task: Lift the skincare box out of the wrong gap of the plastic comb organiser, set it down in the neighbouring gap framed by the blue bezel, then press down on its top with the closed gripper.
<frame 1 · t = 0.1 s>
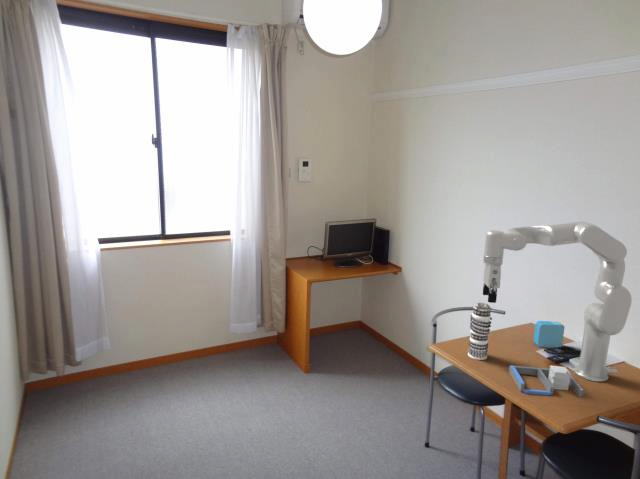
hand: (489, 298, 190), 31 cm above the table, tool pointing down, fingers open, 9 cm apart
comb organiser: (544, 384, 181), on the table
skincare box: (557, 386, 181), resting in comb organiser
data package: (547, 346, 219), on the table
white patterned tower: (477, 356, 206), on the table
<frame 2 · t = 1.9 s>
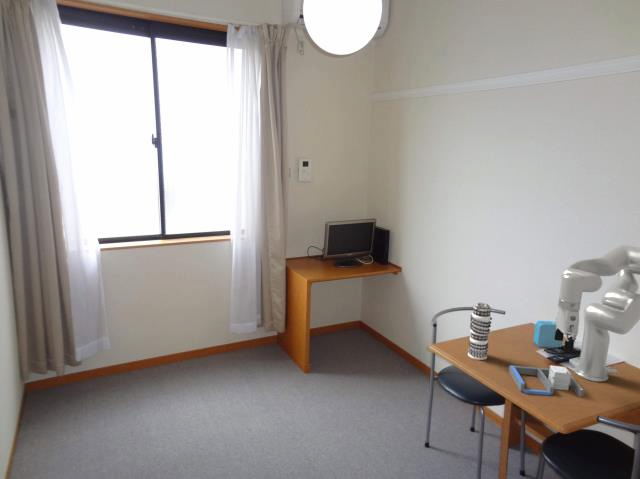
hand: (563, 345, 177), 18 cm above the table, tool pointing down, fingers open, 9 cm apart
nothing on the table moved.
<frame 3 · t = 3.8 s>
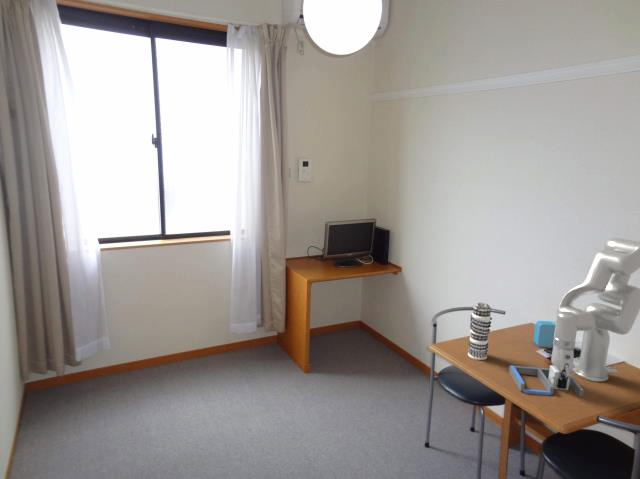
hand: (558, 383, 180), 1 cm above the table, tool pointing down, fingers closed on skincare box, 6 cm apart
skincare box: (557, 386, 181), resting in comb organiser, touching gripper
everything else where it was.
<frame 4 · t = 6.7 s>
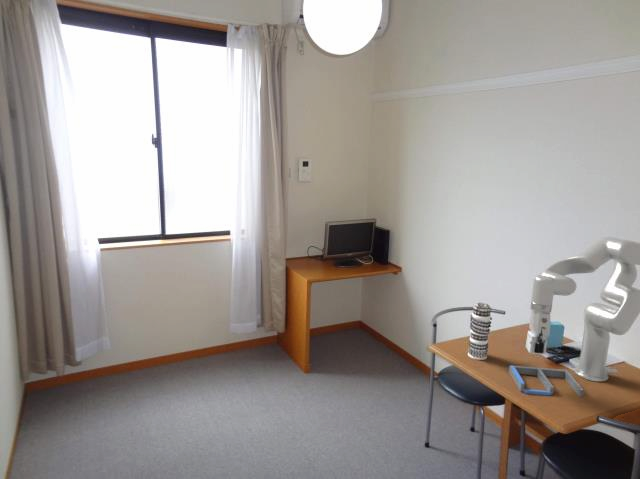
hand: (535, 348, 179), 15 cm above the table, tool pointing down, fingers closed on skincare box, 6 cm apart
skincare box: (535, 351, 179), point 14 cm above the table, touching gripper
everything else where it was.
when the fingers open (2 cm above the table, at t = 9.5 s): skincare box drops 1 cm, resting in comb organiser.
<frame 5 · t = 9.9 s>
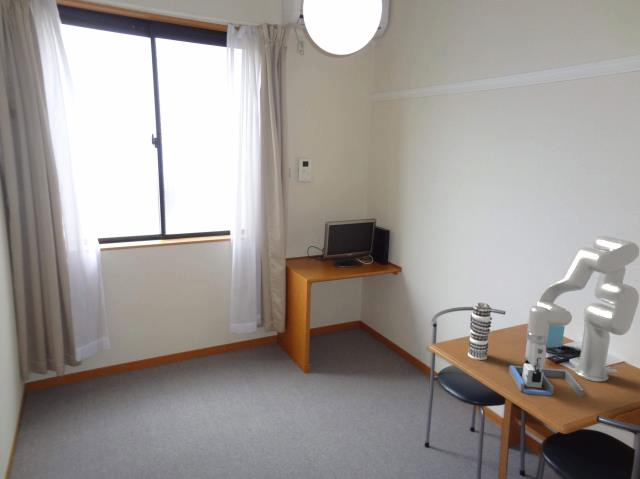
hand: (532, 376, 181), 3 cm above the table, tool pointing down, fingers open, 9 cm apart
skincare box: (531, 384, 182), resting in comb organiser
everything else where it was.
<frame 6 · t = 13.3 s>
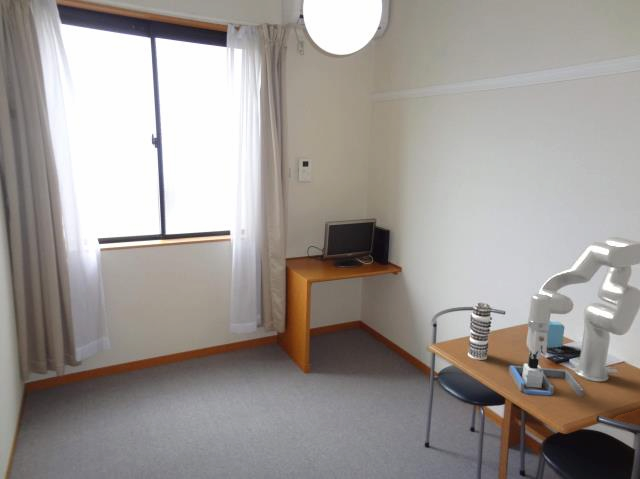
hand: (532, 367, 180), 7 cm above the table, tool pointing down, fingers closed
skincare box: (531, 384, 182), resting in comb organiser, touching gripper
everything else where it was.
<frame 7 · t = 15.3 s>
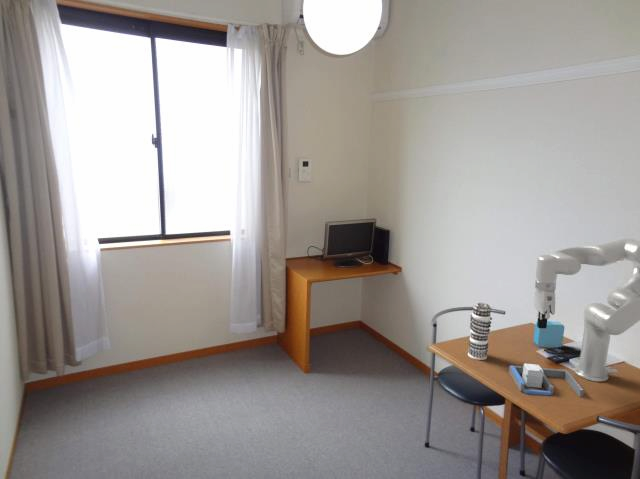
hand: (541, 327, 185), 21 cm above the table, tool pointing down, fingers closed
skincare box: (531, 384, 182), resting in comb organiser
everything else where it was.
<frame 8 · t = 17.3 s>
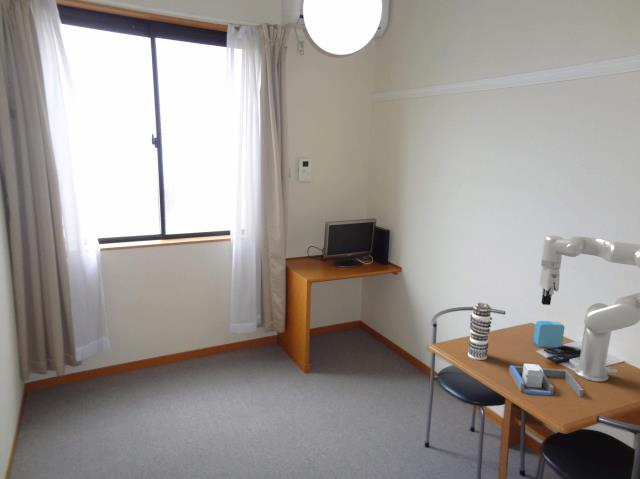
hand: (545, 304, 197), 27 cm above the table, tool pointing down, fingers closed
nothing on the table moved.
at the end: skincare box inside the target area on the comb organiser (0.2 cm from its centre), point 0.0 cm above the comb organiser's base; skincare box tilted 0°; the gripper is holding nothing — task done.
